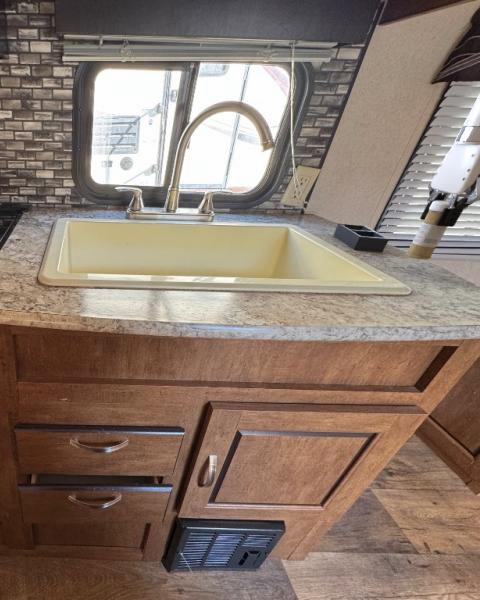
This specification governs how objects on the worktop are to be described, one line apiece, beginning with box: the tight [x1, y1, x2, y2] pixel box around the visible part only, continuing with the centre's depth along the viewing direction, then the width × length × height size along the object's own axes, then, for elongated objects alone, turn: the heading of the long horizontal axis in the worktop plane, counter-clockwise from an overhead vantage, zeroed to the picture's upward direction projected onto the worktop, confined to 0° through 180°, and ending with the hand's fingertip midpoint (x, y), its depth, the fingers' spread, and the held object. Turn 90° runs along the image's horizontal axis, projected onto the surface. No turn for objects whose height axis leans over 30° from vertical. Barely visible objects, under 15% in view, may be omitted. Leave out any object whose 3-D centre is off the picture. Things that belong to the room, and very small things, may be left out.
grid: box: [332, 222, 390, 253], centre depth 98 cm, size 7×14×4 cm, turn 165°
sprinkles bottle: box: [405, 200, 450, 261], centre depth 75 cm, size 5×5×13 cm
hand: (436, 222), depth 74 cm, fingers closed on sprinkles bottle, 4 cm apart
